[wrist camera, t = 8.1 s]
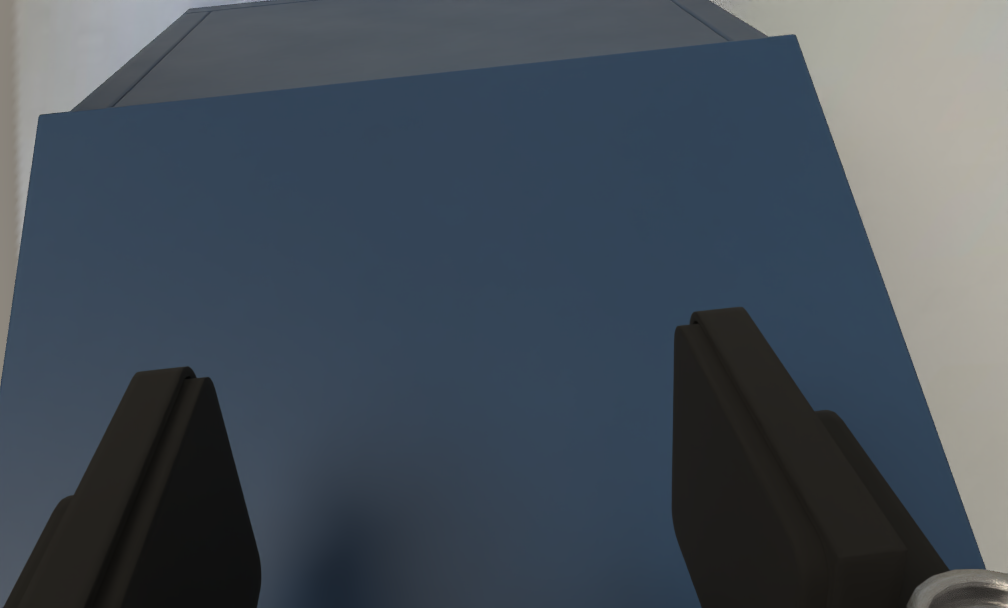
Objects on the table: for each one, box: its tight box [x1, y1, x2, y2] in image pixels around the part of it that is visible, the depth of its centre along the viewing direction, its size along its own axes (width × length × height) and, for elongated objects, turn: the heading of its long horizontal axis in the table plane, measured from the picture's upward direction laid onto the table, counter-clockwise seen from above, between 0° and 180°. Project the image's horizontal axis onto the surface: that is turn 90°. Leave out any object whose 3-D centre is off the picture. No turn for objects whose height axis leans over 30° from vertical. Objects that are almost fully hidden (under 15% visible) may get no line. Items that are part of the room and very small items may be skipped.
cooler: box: [70, 0, 768, 112], centre depth 25 cm, size 13×14×11 cm
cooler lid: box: [0, 34, 986, 608], centre depth 12 cm, size 13×14×5 cm
